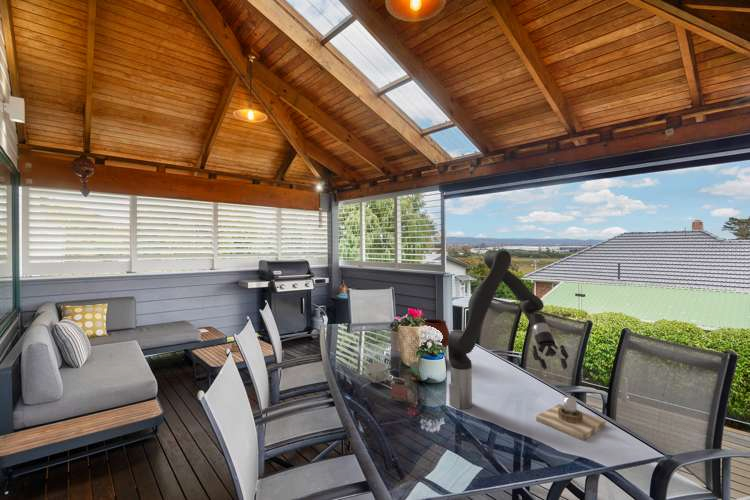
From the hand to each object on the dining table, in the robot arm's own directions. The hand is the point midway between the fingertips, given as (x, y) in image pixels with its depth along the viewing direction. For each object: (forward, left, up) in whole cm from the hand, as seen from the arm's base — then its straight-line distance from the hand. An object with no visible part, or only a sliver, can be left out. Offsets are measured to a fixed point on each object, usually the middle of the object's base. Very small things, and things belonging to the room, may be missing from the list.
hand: (555, 368), depth 151 cm
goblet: (+3, +78, -18) cm, 80 cm away
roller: (-6, -9, -16) cm, 19 cm away
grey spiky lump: (-44, +72, -18) cm, 86 cm away
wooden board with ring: (-7, -9, -18) cm, 21 cm away
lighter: (-48, +49, -18) cm, 70 cm away
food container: (-24, +60, -18) cm, 67 cm away
